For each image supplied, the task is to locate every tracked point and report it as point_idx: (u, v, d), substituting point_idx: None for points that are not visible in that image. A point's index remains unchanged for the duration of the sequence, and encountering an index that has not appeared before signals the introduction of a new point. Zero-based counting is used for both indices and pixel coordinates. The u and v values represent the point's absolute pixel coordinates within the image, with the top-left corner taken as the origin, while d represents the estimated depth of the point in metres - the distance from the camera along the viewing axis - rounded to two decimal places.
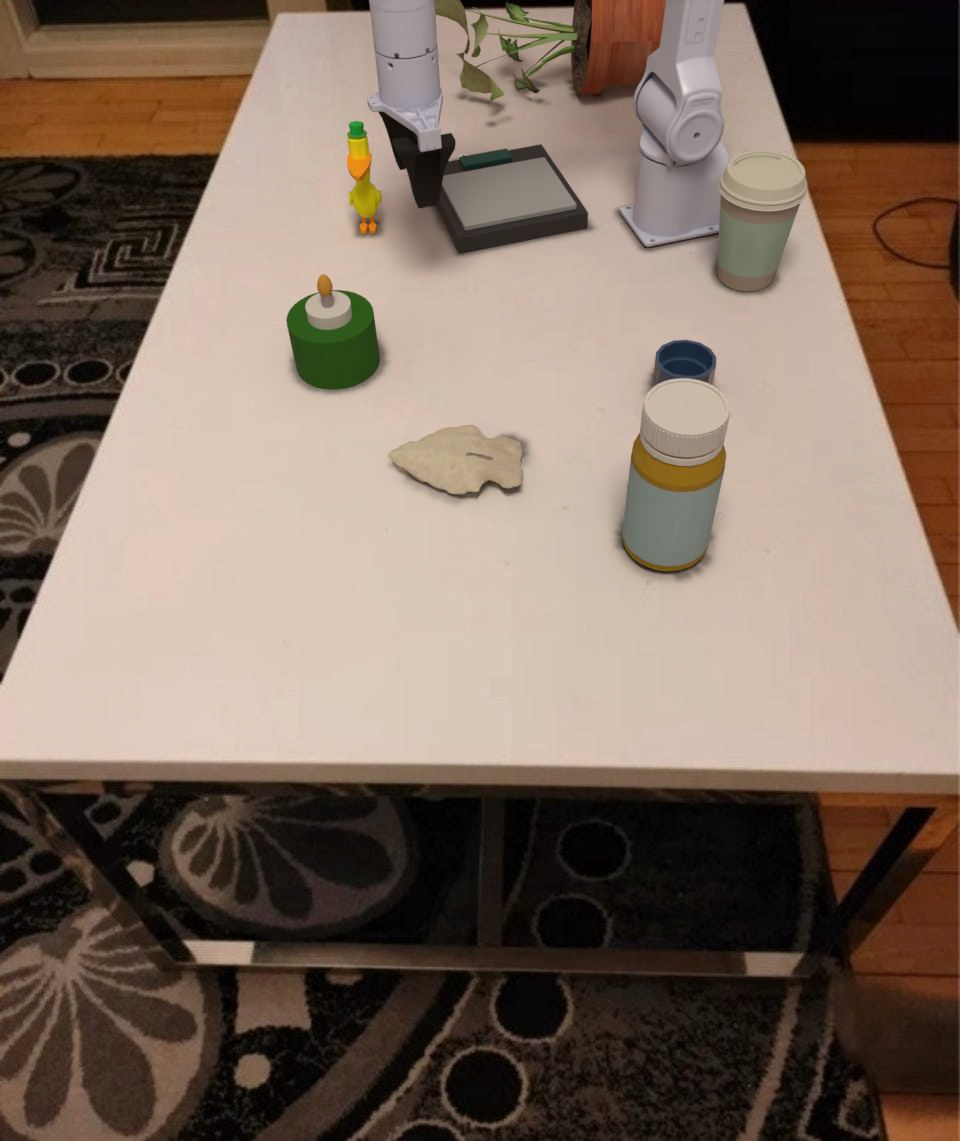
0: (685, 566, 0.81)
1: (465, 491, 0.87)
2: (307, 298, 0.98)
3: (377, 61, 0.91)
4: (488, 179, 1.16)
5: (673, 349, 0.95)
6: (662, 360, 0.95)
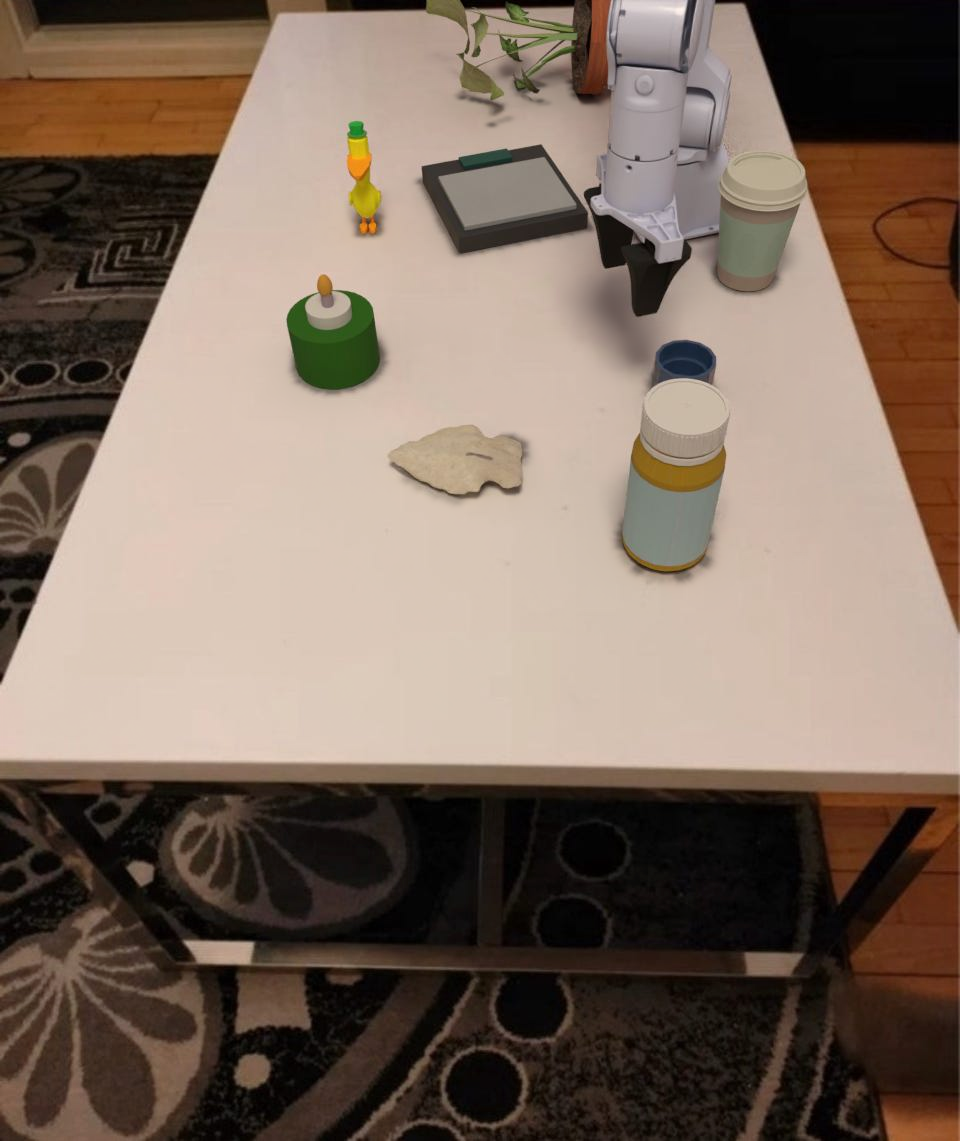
0: (685, 566, 0.81)
1: (465, 491, 0.87)
2: (307, 298, 0.98)
3: (611, 162, 0.81)
4: (488, 179, 1.16)
5: (673, 349, 0.95)
6: (662, 360, 0.95)
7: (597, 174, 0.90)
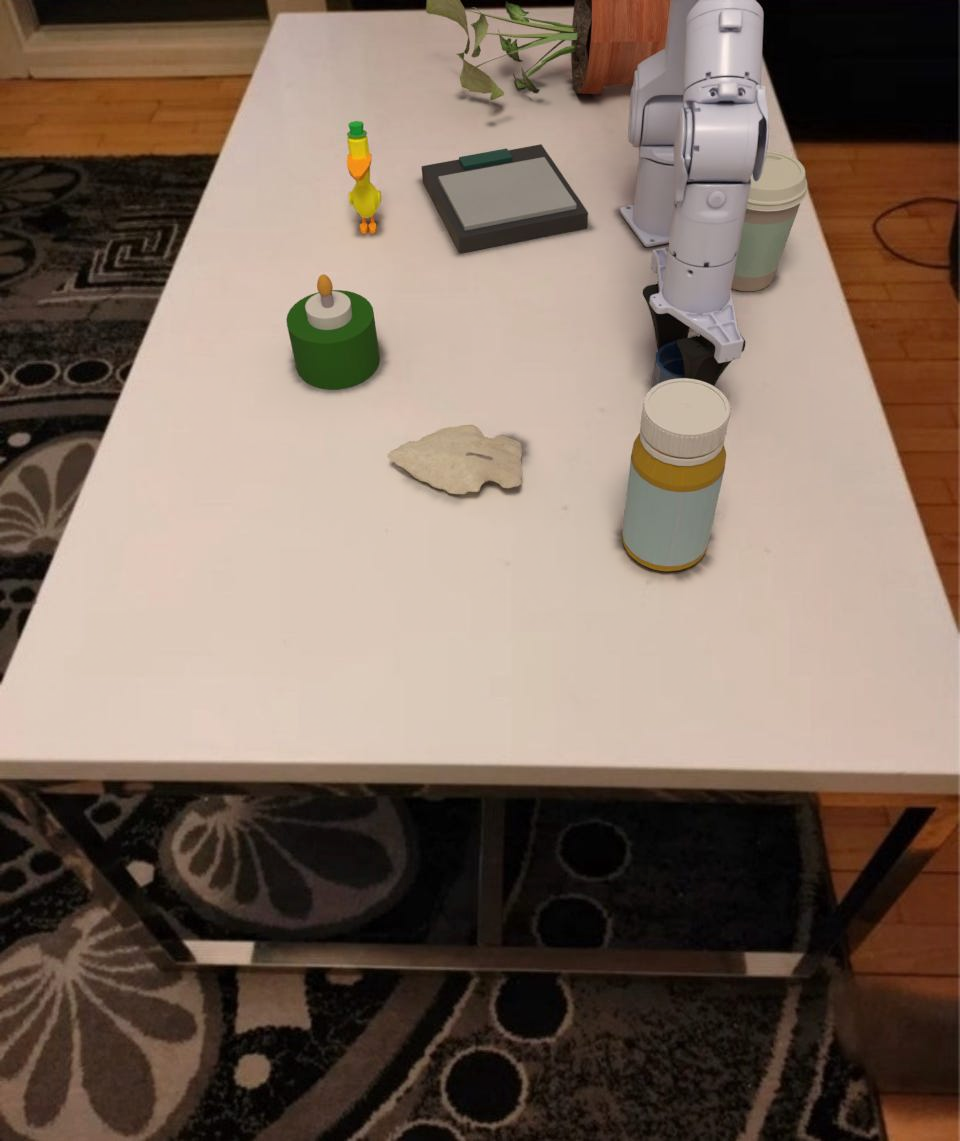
0: (685, 566, 0.81)
1: (465, 491, 0.87)
2: (307, 298, 0.98)
3: (672, 265, 0.84)
4: (488, 179, 1.16)
5: (673, 349, 0.95)
6: (662, 360, 0.95)
7: (652, 267, 0.92)
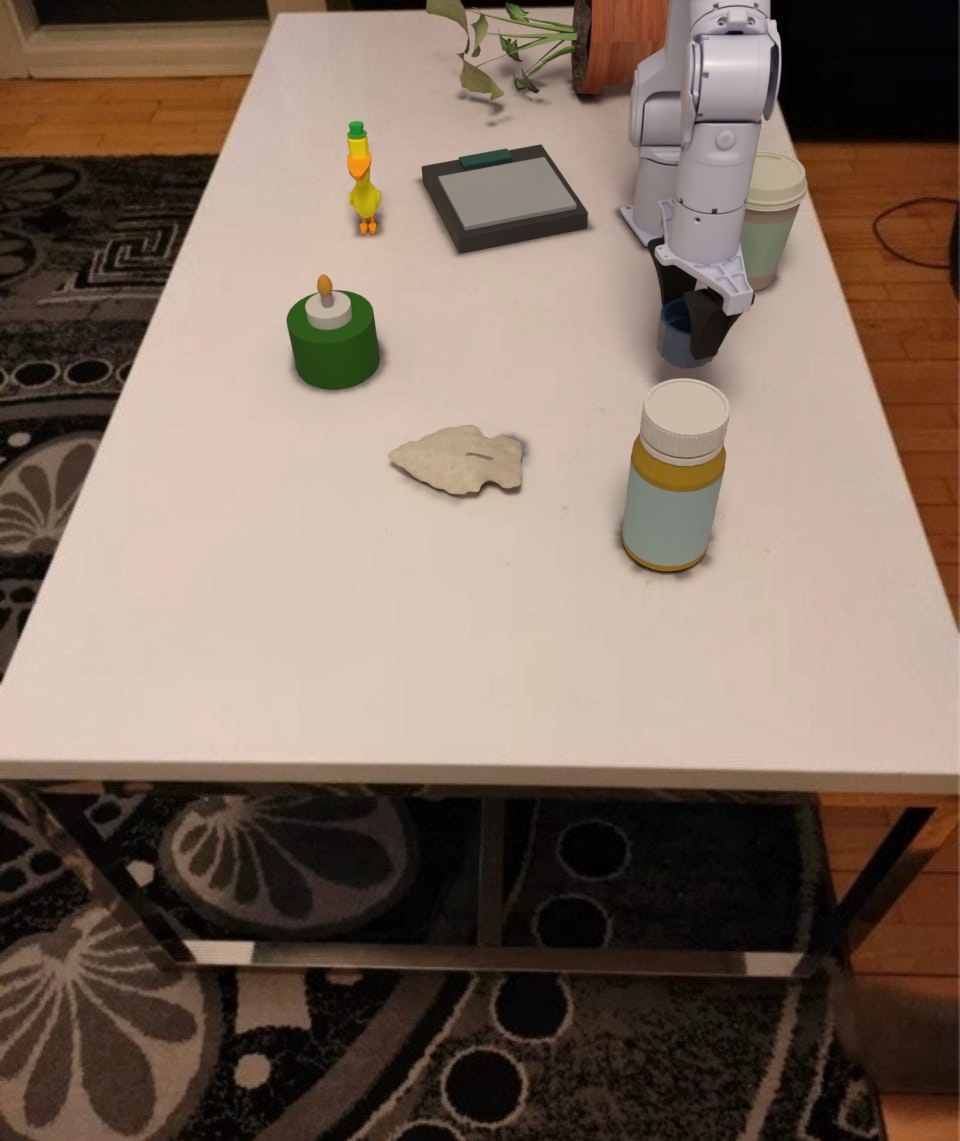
0: (685, 566, 0.81)
1: (465, 491, 0.87)
2: (307, 298, 0.98)
3: (678, 213, 0.80)
4: (488, 179, 1.16)
5: (679, 306, 0.91)
6: (667, 318, 0.91)
7: (657, 220, 0.89)
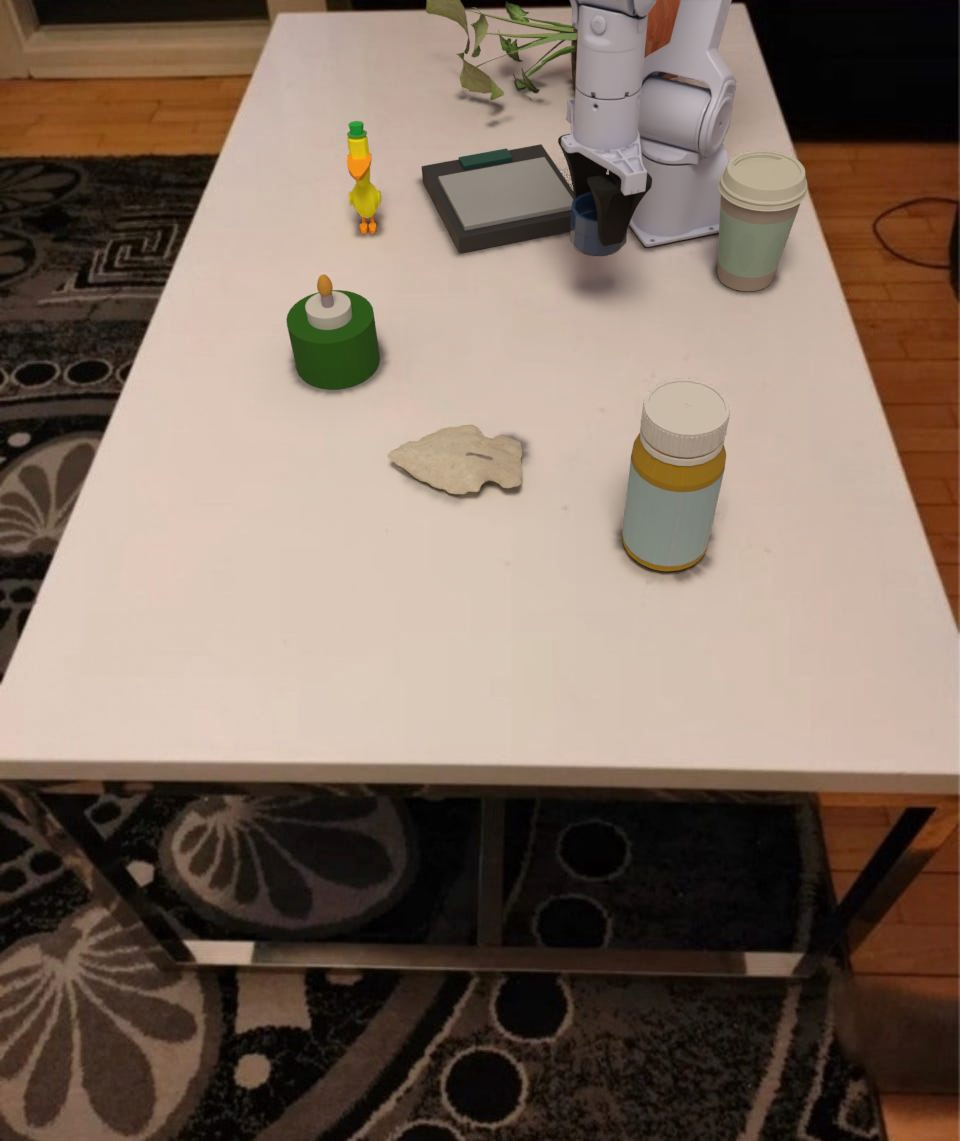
0: (685, 566, 0.81)
1: (465, 491, 0.87)
2: (307, 298, 0.98)
3: (579, 101, 0.88)
4: (488, 179, 1.16)
5: (590, 200, 0.99)
6: (579, 211, 0.99)
7: (567, 118, 0.96)
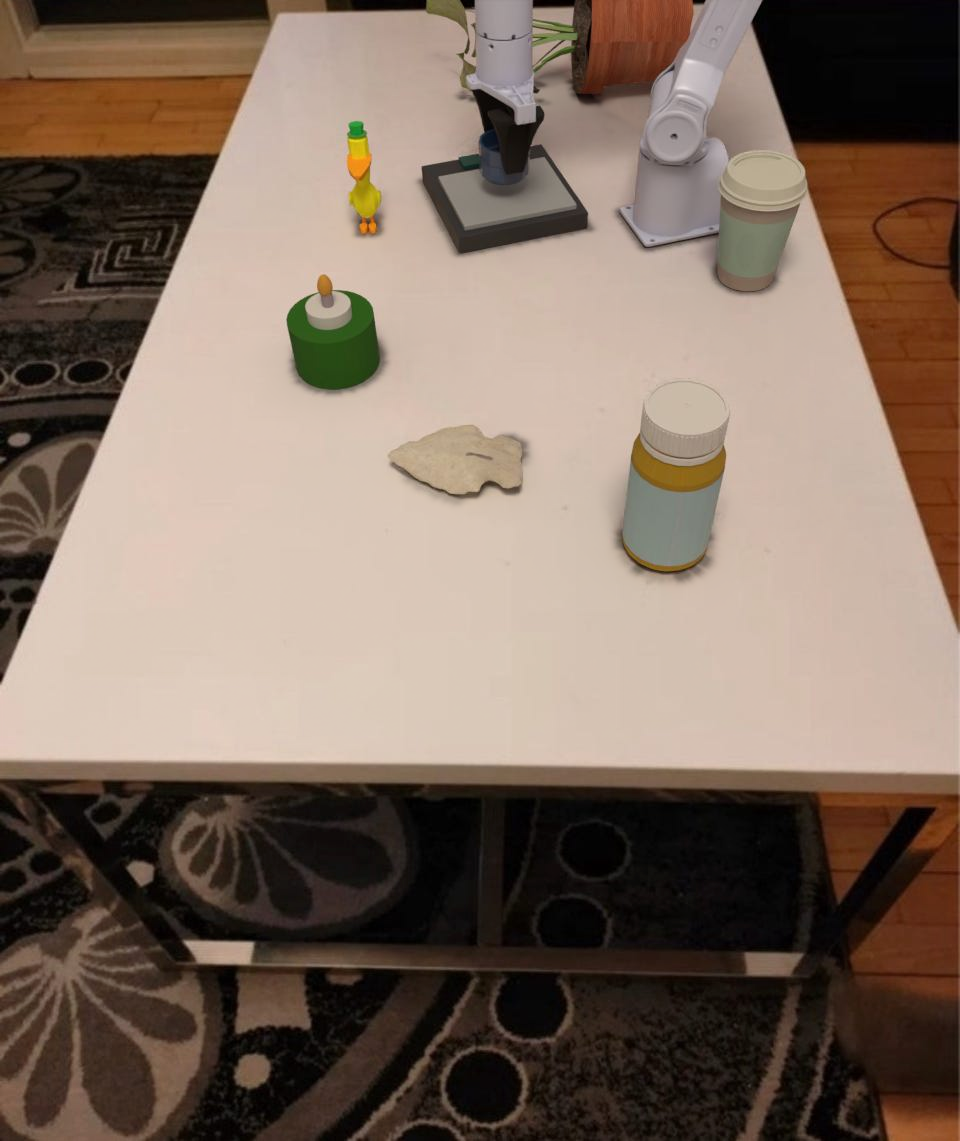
0: (685, 566, 0.81)
1: (465, 491, 0.87)
2: (307, 298, 0.98)
3: (478, 43, 1.01)
4: None
5: None
6: (488, 145, 1.12)
7: (476, 62, 1.10)
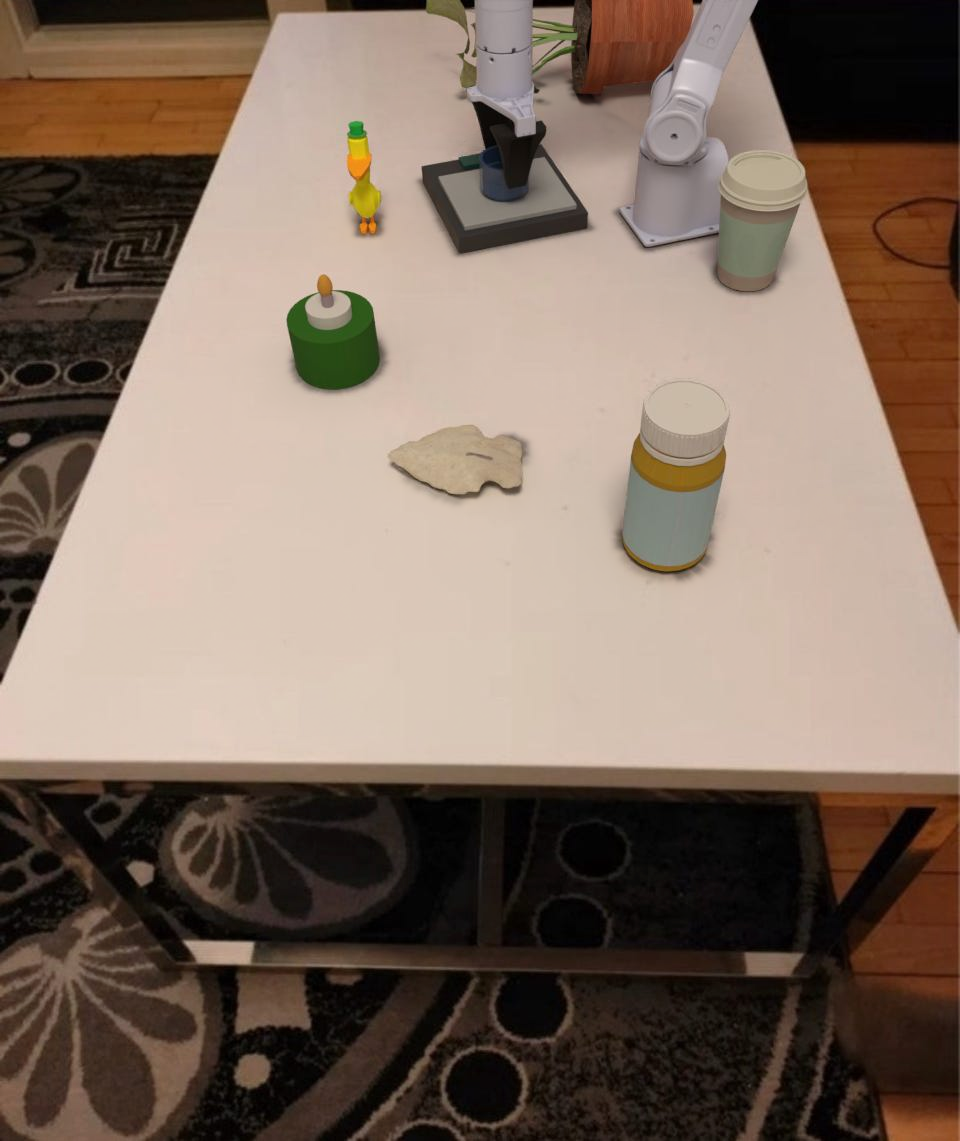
0: (685, 566, 0.81)
1: (465, 491, 0.87)
2: (307, 298, 0.98)
3: (478, 56, 1.02)
4: None
5: (497, 152, 1.13)
6: (488, 162, 1.14)
7: None
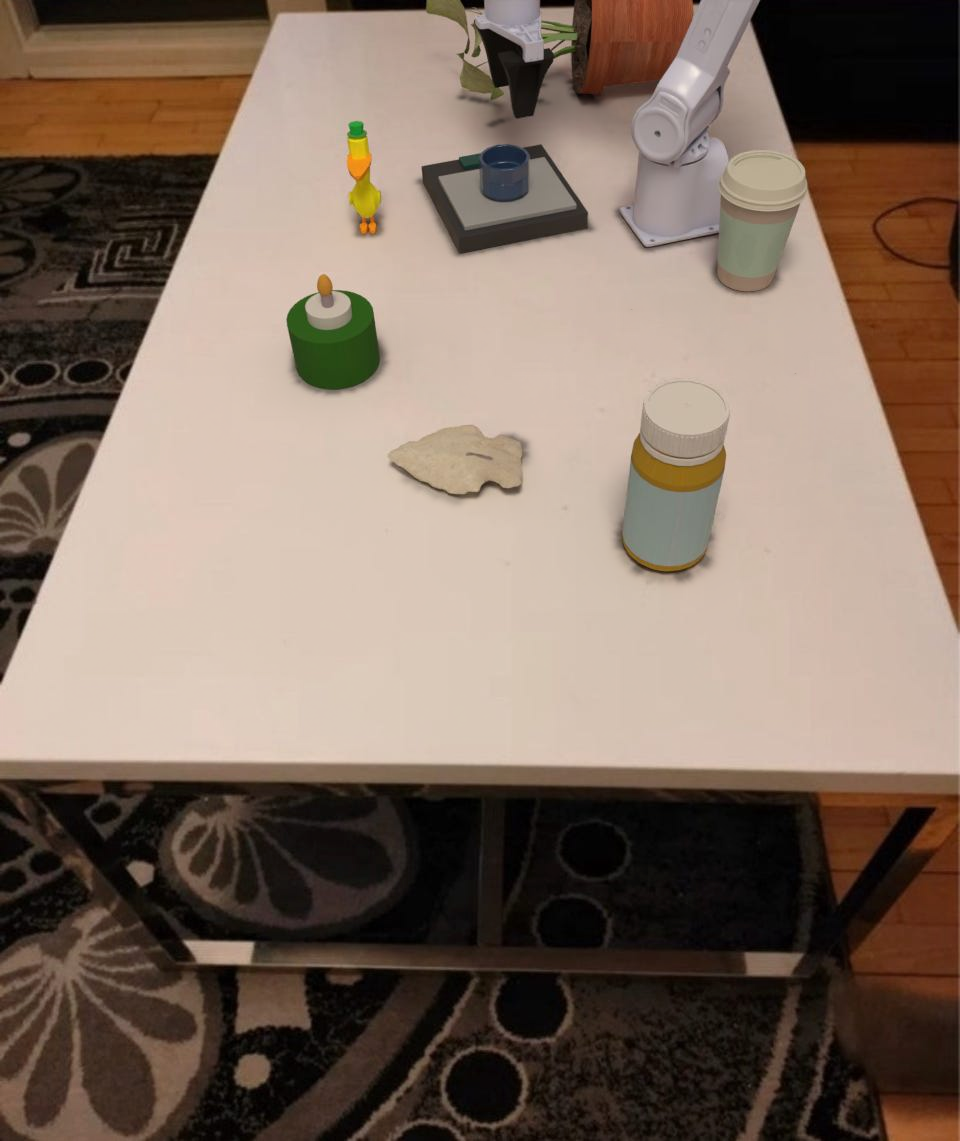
0: (685, 566, 0.81)
1: (465, 491, 0.87)
2: (307, 298, 0.98)
3: None
4: None
5: (497, 152, 1.13)
6: (488, 162, 1.14)
7: (485, 6, 1.12)
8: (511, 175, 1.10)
